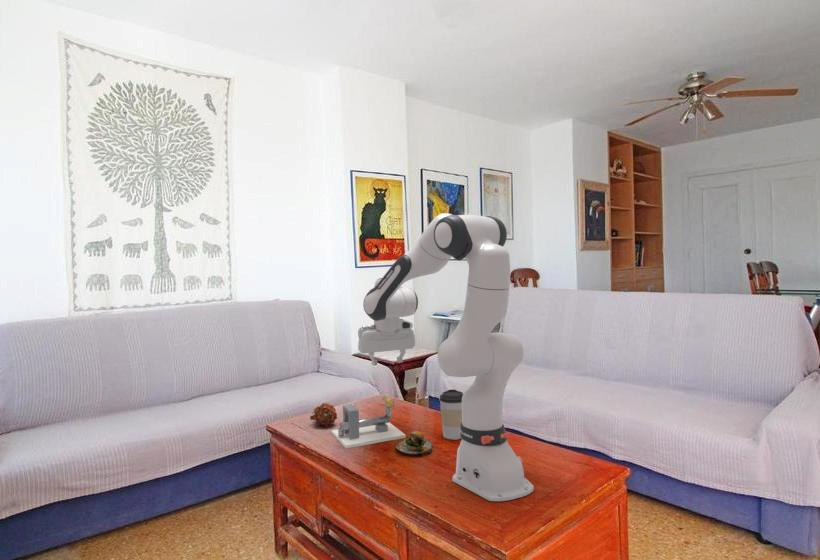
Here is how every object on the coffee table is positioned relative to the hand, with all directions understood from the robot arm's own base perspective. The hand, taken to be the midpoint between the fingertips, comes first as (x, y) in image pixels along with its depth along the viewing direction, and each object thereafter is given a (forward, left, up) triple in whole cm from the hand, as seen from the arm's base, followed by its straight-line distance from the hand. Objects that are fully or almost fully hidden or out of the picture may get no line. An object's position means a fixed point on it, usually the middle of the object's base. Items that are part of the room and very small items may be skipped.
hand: (387, 363), depth 170 cm
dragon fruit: (+18, +18, -24) cm, 35 cm away
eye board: (0, +8, -24) cm, 25 cm away
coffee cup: (-14, -18, -24) cm, 33 cm away
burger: (-19, -1, -24) cm, 31 cm away
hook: (0, +8, -22) cm, 24 cm away
